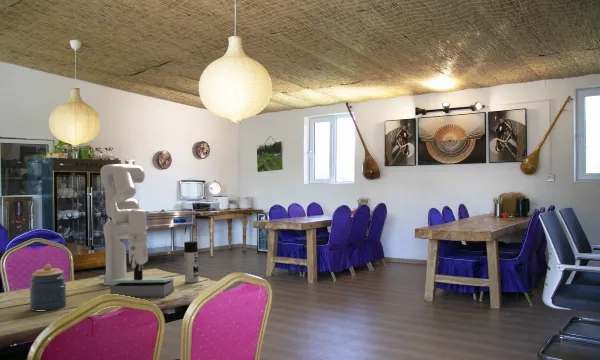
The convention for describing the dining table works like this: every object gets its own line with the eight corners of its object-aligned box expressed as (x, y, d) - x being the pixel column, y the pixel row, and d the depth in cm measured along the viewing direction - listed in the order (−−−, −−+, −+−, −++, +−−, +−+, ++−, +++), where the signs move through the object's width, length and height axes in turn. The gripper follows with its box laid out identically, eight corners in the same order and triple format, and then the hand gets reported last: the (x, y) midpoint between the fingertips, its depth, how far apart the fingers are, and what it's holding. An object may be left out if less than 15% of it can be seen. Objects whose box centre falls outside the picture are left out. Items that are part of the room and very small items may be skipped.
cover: (110, 282, 204) (110, 280, 204) (122, 280, 216) (122, 278, 216) (164, 282, 202) (164, 279, 202) (173, 280, 214) (173, 277, 214)
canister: (27, 313, 180) (27, 267, 180) (32, 306, 192) (31, 263, 192) (65, 309, 185) (64, 264, 186) (67, 302, 197) (66, 260, 197)
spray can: (195, 283, 232) (194, 242, 232) (182, 282, 233) (181, 242, 234) (200, 280, 239) (199, 241, 239) (188, 280, 240) (187, 241, 240)
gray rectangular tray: (110, 298, 204) (110, 286, 204) (122, 291, 215) (122, 280, 216) (164, 297, 202) (164, 285, 202) (173, 291, 214) (173, 280, 214)
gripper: (139, 239, 197) (140, 283, 197) (152, 235, 212) (153, 276, 212) (121, 239, 197) (122, 283, 197) (136, 236, 212) (136, 276, 212)
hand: (138, 279), depth 204 cm, fingers closed
